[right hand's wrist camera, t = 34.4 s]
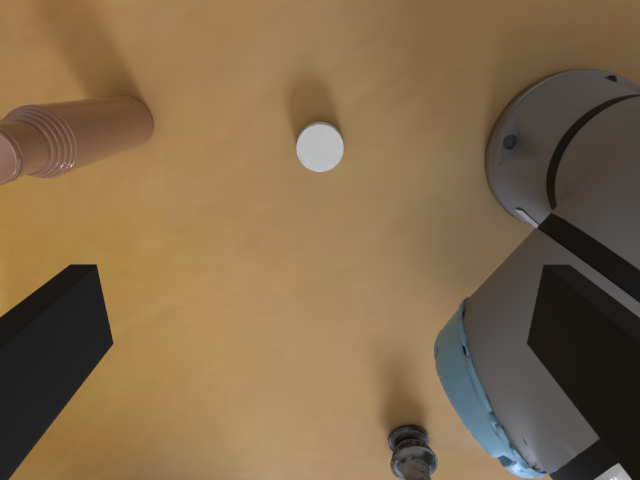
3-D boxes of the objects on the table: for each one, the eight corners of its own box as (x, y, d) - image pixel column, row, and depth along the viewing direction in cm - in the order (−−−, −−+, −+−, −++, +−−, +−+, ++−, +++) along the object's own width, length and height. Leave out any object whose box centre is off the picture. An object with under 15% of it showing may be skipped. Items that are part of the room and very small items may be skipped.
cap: (336, 171, 43) (337, 177, 40) (292, 161, 42) (291, 166, 40) (348, 127, 41) (349, 130, 39) (302, 116, 41) (301, 118, 38)
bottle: (102, 139, 41) (-56, 185, 24) (105, 89, 40) (-61, 100, 22) (150, 151, 42) (30, 205, 24) (156, 103, 40) (31, 123, 23)
